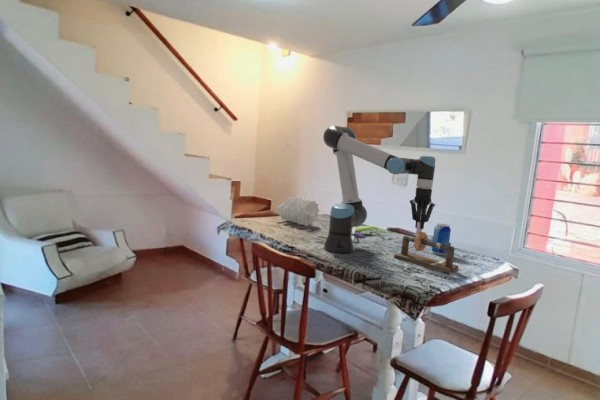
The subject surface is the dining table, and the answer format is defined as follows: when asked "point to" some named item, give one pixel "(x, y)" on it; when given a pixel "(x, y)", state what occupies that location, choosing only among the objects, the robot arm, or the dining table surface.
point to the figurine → (365, 228)
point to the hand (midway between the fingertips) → (418, 235)
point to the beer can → (441, 237)
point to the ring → (418, 239)
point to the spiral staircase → (299, 211)
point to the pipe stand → (427, 261)
